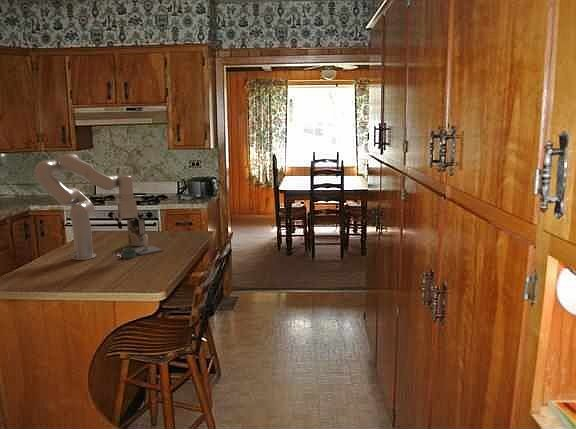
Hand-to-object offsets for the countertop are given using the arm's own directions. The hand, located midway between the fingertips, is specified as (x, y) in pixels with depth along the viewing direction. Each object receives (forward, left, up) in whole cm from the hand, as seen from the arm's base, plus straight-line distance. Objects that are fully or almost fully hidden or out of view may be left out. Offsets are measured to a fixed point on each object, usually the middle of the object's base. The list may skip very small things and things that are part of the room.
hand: (128, 227), depth 279 cm
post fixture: (+12, +4, -17) cm, 21 cm away
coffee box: (+16, +24, -17) cm, 34 cm away
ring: (-1, -1, -17) cm, 17 cm away
